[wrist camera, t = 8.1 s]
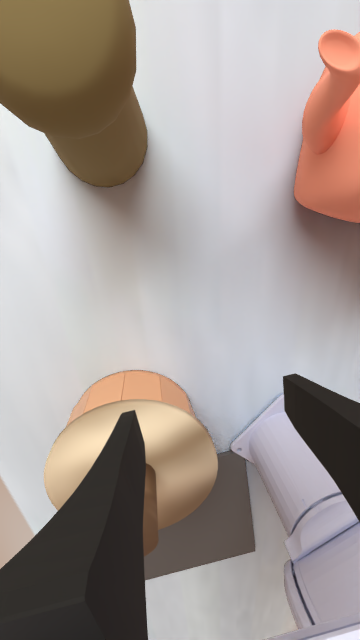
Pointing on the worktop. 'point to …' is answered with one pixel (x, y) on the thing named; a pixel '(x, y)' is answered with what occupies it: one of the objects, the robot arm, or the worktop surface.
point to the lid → (161, 460)
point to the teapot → (333, 133)
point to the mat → (208, 525)
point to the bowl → (132, 391)
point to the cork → (76, 82)
